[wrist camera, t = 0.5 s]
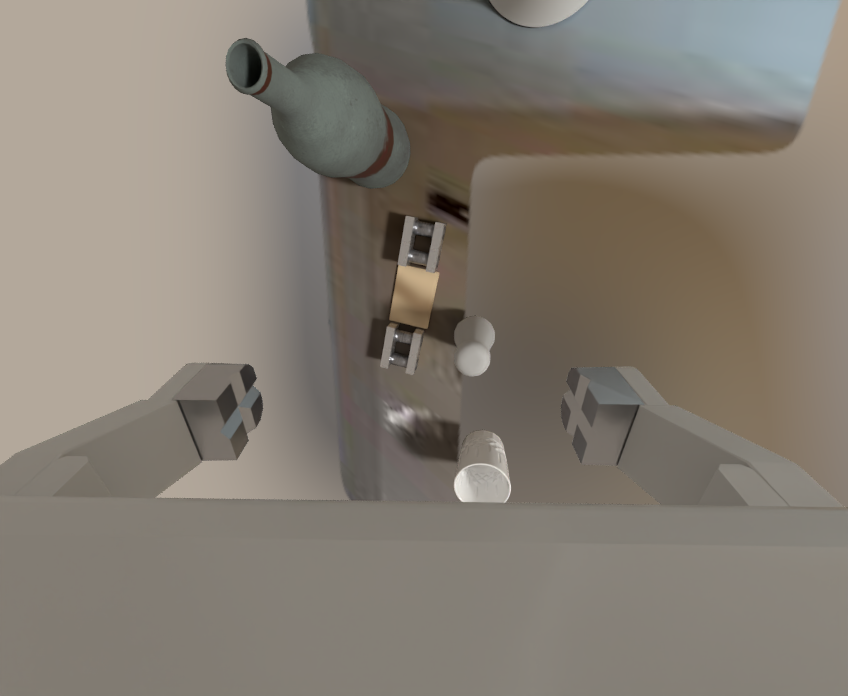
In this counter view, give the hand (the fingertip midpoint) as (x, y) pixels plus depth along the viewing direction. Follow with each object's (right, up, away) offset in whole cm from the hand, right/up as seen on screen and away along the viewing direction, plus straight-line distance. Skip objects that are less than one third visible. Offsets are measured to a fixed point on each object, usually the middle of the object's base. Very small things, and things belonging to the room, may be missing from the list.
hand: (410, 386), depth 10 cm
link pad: (-1, +9, +46) cm, 47 cm away
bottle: (-5, +27, +40) cm, 49 cm away
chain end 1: (0, +16, +43) cm, 46 cm away
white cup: (+10, -15, +52) cm, 55 cm away
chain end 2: (-3, +1, +48) cm, 48 cm away
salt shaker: (+8, +4, +46) cm, 47 cm away
